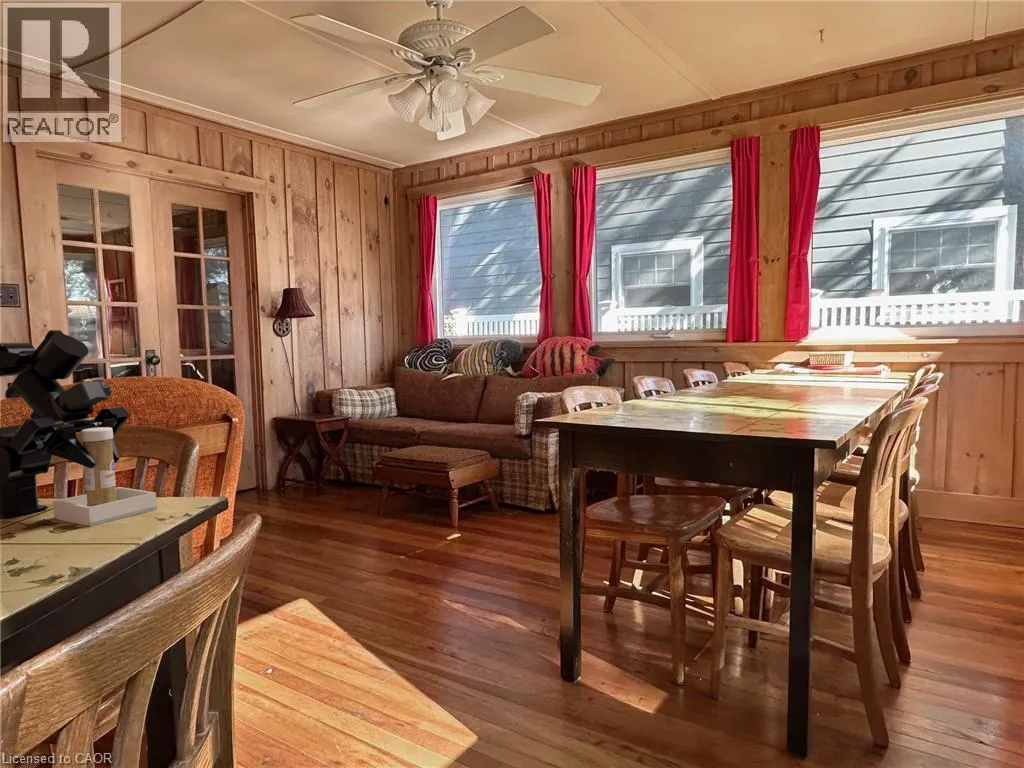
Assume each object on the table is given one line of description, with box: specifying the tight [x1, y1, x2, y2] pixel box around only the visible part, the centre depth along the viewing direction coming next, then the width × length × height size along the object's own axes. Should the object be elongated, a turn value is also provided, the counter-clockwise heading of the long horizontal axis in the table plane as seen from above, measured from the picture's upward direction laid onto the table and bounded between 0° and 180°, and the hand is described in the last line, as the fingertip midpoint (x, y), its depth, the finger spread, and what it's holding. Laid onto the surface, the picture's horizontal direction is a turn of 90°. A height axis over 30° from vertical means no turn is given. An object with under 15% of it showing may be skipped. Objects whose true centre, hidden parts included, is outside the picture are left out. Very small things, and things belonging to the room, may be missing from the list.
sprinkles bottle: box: [80, 427, 117, 507], centre depth 108 cm, size 5×5×13 cm
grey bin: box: [52, 486, 158, 527], centre depth 109 cm, size 11×11×3 cm
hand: (105, 463), depth 108 cm, fingers open, 4 cm apart
